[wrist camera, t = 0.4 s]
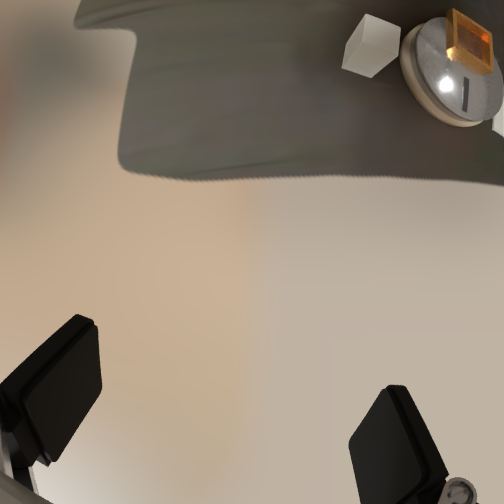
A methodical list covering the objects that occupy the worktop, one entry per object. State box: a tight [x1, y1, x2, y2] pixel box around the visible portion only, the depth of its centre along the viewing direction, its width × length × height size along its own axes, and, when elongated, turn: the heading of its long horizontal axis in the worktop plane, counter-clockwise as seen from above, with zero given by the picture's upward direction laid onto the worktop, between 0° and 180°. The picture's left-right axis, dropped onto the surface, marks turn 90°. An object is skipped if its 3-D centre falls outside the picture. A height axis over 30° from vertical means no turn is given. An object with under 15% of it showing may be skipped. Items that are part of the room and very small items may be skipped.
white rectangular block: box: [342, 14, 401, 78], centre depth 26 cm, size 4×4×9 cm
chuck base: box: [400, 23, 482, 127], centre depth 28 cm, size 16×16×2 cm
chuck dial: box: [410, 8, 504, 122], centre depth 24 cm, size 15×15×5 cm
